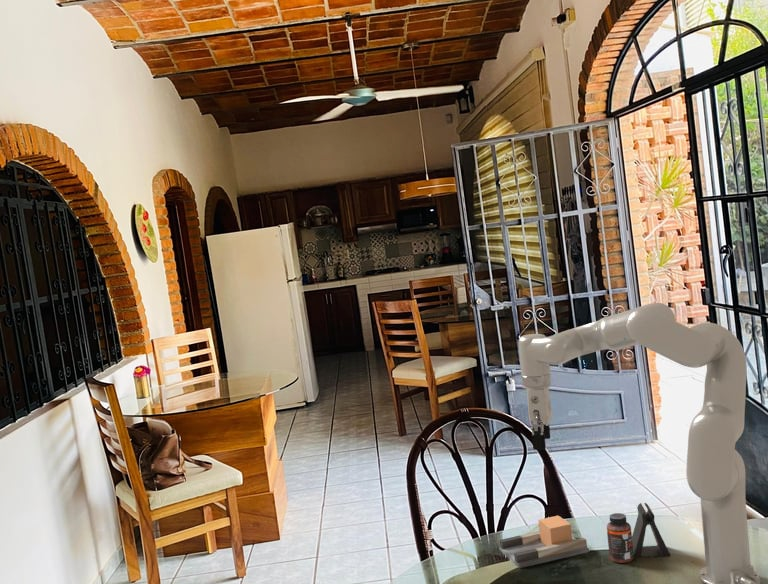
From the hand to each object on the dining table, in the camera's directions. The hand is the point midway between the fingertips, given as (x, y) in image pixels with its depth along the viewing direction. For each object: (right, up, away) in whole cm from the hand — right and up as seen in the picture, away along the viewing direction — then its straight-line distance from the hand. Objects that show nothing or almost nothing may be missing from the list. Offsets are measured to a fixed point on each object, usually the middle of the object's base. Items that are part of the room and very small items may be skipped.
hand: (542, 443), depth 196 cm
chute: (+1, -29, +1) cm, 29 cm away
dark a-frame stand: (+26, -27, -7) cm, 38 cm away
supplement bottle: (+19, -28, -9) cm, 34 cm away
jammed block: (+4, -27, +2) cm, 28 cm away
